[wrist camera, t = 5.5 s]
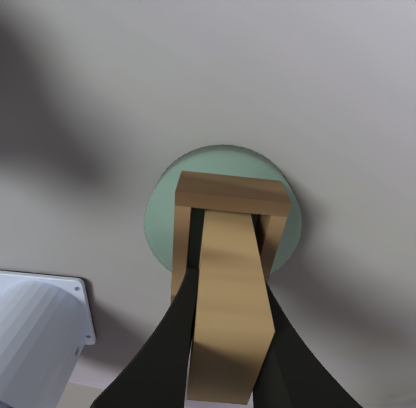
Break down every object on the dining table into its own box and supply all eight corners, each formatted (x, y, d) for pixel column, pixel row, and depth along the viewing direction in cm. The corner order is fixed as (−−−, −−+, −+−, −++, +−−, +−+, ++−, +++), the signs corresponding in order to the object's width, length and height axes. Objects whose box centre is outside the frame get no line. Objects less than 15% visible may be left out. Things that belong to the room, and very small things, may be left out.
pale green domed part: (274, 269, 21) (280, 293, 19) (153, 257, 21) (145, 280, 19) (310, 153, 16) (324, 169, 14) (151, 136, 16) (141, 149, 14)
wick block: (236, 277, 17) (246, 404, 11) (197, 273, 17) (186, 399, 11) (250, 212, 14) (275, 331, 8) (205, 207, 14) (196, 323, 8)
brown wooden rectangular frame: (253, 281, 19) (258, 311, 17) (176, 274, 19) (170, 303, 16) (280, 180, 15) (291, 203, 12) (181, 170, 14) (175, 191, 12)
